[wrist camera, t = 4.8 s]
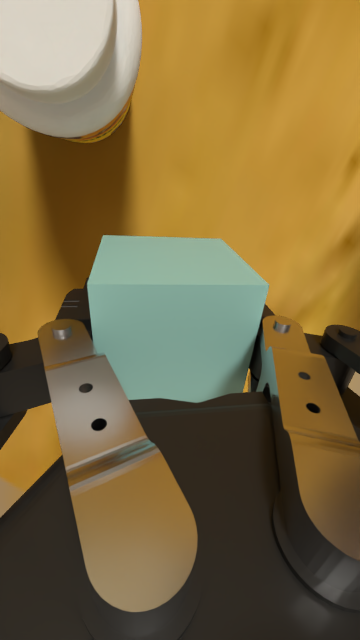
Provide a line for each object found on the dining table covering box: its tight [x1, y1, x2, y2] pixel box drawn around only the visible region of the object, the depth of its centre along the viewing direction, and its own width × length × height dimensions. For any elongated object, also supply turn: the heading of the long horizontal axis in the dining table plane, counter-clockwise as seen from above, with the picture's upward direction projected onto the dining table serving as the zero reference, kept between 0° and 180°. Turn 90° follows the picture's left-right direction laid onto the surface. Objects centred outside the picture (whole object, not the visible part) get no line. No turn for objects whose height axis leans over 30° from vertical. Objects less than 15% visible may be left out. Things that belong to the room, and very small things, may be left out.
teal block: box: [87, 235, 269, 403], centre depth 11 cm, size 5×5×5 cm
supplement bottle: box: [0, 0, 142, 143], centre depth 10 cm, size 6×6×10 cm
